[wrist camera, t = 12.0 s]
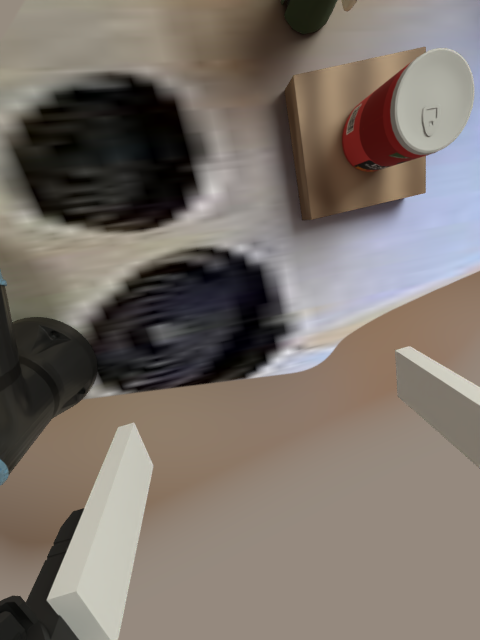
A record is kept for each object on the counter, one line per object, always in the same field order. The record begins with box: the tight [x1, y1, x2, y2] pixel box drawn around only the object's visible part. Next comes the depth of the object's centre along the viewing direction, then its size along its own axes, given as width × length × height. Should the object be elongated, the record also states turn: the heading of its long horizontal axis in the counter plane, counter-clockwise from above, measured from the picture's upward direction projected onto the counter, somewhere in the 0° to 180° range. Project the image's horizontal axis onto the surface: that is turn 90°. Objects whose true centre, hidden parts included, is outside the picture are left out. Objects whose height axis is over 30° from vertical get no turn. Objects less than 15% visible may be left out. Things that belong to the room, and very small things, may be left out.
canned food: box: [342, 48, 474, 172], centre depth 31 cm, size 8×8×11 cm
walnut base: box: [285, 47, 426, 220], centre depth 38 cm, size 16×16×4 cm
